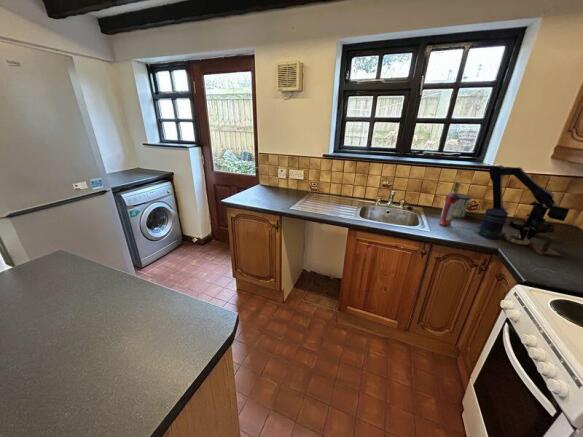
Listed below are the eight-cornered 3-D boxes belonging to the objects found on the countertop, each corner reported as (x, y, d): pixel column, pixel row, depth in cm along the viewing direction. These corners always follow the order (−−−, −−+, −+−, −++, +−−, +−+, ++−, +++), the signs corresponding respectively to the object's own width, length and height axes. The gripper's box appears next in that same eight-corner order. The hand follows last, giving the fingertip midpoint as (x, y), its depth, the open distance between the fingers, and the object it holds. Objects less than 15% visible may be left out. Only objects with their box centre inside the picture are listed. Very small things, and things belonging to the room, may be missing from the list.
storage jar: (474, 232, 146) (481, 209, 139) (489, 230, 146) (497, 207, 140) (488, 240, 137) (496, 216, 130) (504, 238, 137) (513, 214, 131)
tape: (511, 244, 132) (513, 241, 131) (499, 235, 142) (500, 232, 141) (533, 246, 131) (535, 242, 130) (519, 237, 141) (520, 233, 140)
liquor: (442, 221, 158) (456, 179, 147) (453, 226, 152) (468, 183, 141) (434, 223, 155) (448, 180, 144) (445, 228, 149) (460, 184, 138)
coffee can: (447, 210, 177) (453, 192, 171) (464, 214, 172) (470, 195, 166) (446, 215, 169) (453, 196, 163) (464, 218, 164) (471, 199, 158)
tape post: (541, 255, 123) (548, 241, 120) (527, 246, 131) (534, 233, 128) (560, 257, 122) (568, 243, 119) (545, 248, 130) (553, 234, 127)
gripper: (529, 219, 123) (516, 245, 130) (570, 222, 121) (555, 249, 128) (514, 211, 133) (502, 235, 140) (551, 213, 131) (538, 239, 138)
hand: (524, 240), depth 136 cm, fingers closed on tape, 2 cm apart
